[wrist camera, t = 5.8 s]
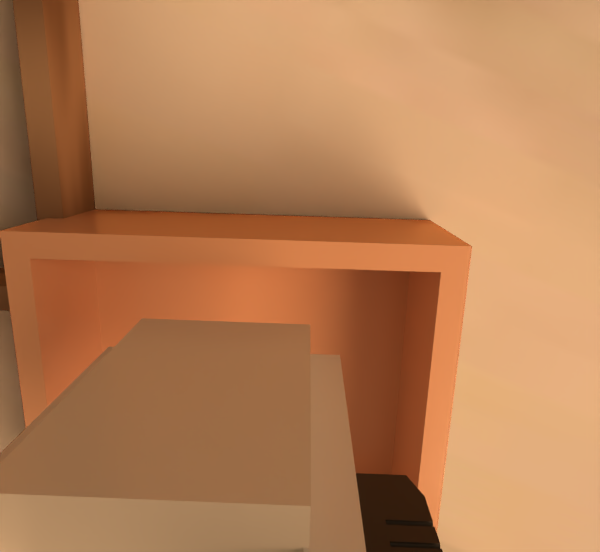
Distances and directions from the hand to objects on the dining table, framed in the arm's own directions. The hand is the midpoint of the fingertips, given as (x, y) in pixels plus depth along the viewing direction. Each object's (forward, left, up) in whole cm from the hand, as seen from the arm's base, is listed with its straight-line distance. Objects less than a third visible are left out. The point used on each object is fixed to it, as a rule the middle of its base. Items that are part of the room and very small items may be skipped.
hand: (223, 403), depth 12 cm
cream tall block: (0, 0, 0) cm, 0 cm away
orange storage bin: (+2, 0, -6) cm, 7 cm away
